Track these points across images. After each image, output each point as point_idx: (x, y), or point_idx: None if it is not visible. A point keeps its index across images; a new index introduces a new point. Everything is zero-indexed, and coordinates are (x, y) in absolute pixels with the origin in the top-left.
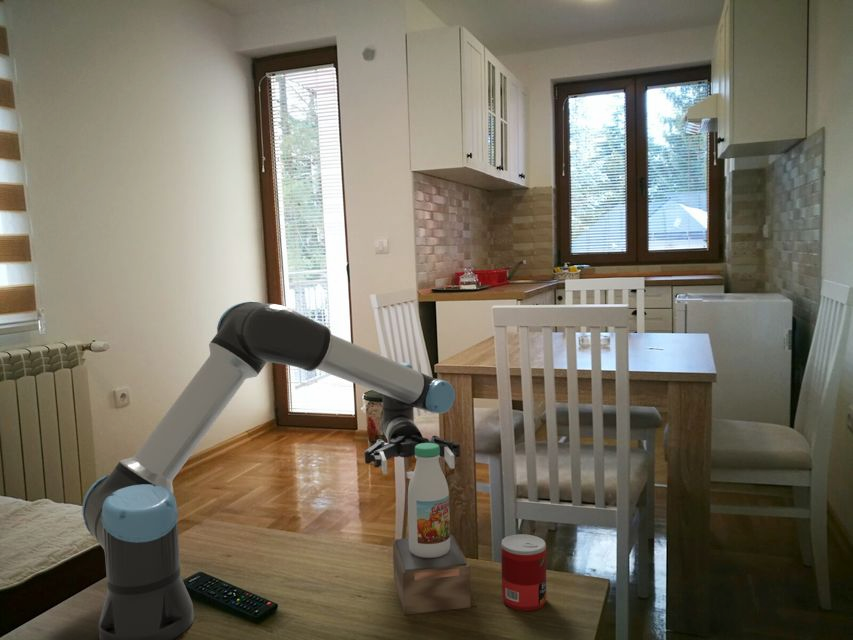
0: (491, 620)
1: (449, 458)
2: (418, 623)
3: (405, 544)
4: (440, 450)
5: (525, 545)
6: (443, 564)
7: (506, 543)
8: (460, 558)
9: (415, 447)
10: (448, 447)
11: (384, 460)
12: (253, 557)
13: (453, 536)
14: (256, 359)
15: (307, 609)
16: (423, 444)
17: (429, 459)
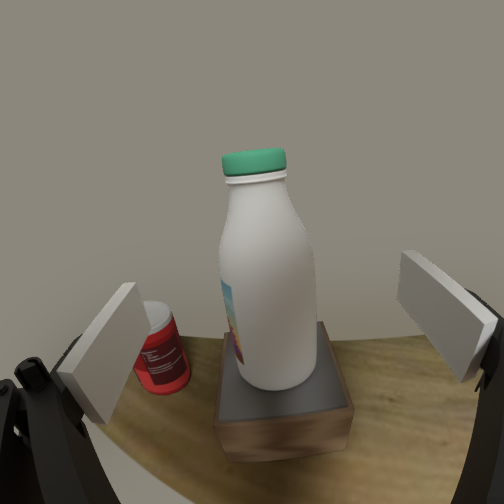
0: (219, 353)
1: (133, 311)
2: None
3: (324, 385)
4: (80, 442)
5: None
6: None
7: (161, 319)
8: (231, 341)
9: (283, 149)
10: (53, 380)
11: (410, 251)
12: None
13: (214, 419)
14: None
15: (442, 365)
16: (260, 149)
17: (255, 174)
